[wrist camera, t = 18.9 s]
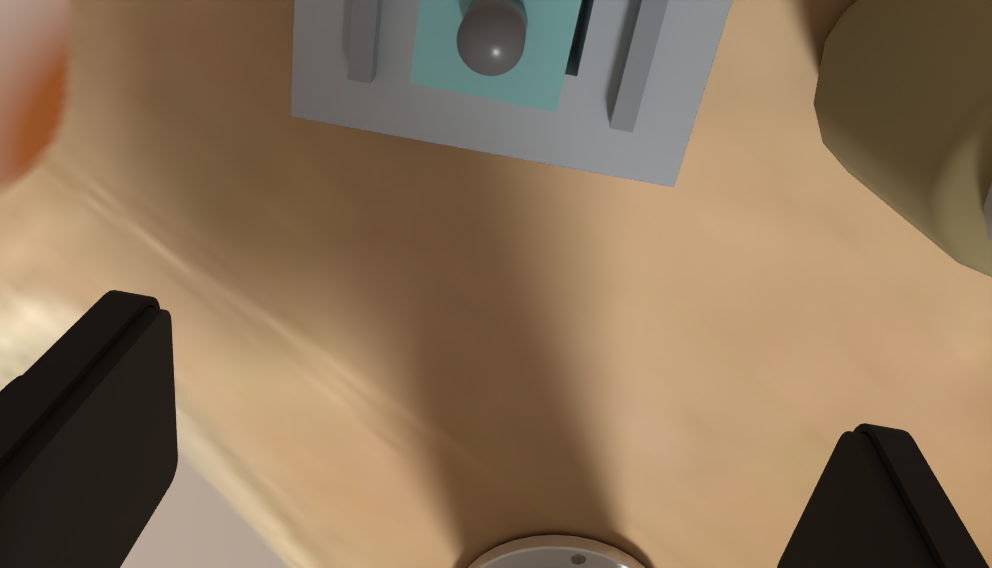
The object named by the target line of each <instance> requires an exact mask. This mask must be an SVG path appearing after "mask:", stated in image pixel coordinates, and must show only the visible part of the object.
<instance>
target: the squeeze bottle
mask: <svg viewBox="0 0 992 568" xmlns="http://www.w3.org/2000/svg"><path fill="white" fill-rule="evenodd" d="M814 107H815V111H816V115H817V119H818V124H819V128H820V132H821V137H822V141H823V143H824V144H825V146H826V147H827V148H828V149H829V150H830V152H831V153H832V154H833V155H834V156H835V157H836V159H837V160H838V161H839V162H840V163H841V164H842V166H843V167H844V168H845V169H846V170H847V171H848V172H849V173H850V174H851V175H852V176H853V177H855V178H856V179H857V180H858V181H860V182H861V183H862V184H863V185H864V186H866V187H867V188H868V189H869V190H870V191H872V192H873V193H874V194H875V195H877V196H878V197H879V198H880V199H881V200H883V201H884V202H885V203H886V204H887V205H889V206H890V207H891V208H892V209H893V210H895V211H896V212H897V213H898V214H900V215H901V216H902V217H903V218H904V219H906V220H907V221H908V222H909V223H910V224H912V225H913V226H914V227H915V228H916V229H918V230H919V231H920V232H921V233H923V234H924V235H925V236H926V237H927V238H929V239H930V240H931V241H932V242H933V243H935V244H936V245H937V246H938V247H939V248H941V249H942V250H943V251H944V252H946V253H947V254H948V255H949V256H950V257H952V258H953V259H954V260H955V261H956V262H958V263H960V264H962V265H964V266H967V267H969V268H971V269H974V270H976V271H978V272H981V273H983V274H986V275H988V276H990V277H992V0H857V1H856V2H854V3H853V4H852V5H851V6H850V7H848V8H847V9H846V10H845V11H844V12H843V13H842V15H841V16H840V18H839V19H838V21H837V23H836V24H835V26H834V27H833V29H832V31H831V32H830V34H829V35H828V37H827V39H826V40H825V45H824V50H823V55H822V60H821V65H820V70H819V76H818V81H817V87H816V93H815V99H814Z"/></svg>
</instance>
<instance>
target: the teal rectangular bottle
mask: <svg viewBox="0 0 992 568" xmlns="http://www.w3.org/2000/svg"><path fill="white" fill-rule="evenodd" d="M581 1H582V0H420V6H419V14H418V22H417V30H416V38H415V45H414V53H413V61H412V69H411V77H410V83H414V84H418V85H423V86H428V87H433V88H438V89H443V90H448V91H453V92H458V93H463V94H468V95H473V96H478V97H483V98H488V99H493V100H498V101H503V102H508V103H512V104H517V105H522V106H527V107H532V108H537V109H542V110H547V111H552V112H556V110H557V105H558V101H559V97H560V92H561V88H562V84H563V79H564V75H565V71H566V66H567V62H568V58H569V53H570V49H571V45H572V40H573V36H574V32H575V27H576V23H577V19H578V14H579V10H580V6H581Z"/></svg>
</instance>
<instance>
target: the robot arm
mask: <svg viewBox="0 0 992 568" xmlns="http://www.w3.org/2000/svg"><path fill="white" fill-rule="evenodd" d="M177 461H178V450H177V429H176V408H175V386H174V365H173V344H172V322H171V315H170V313H169V312H168V311H167V310H163V309H160V306H159V303H158V301H157V299H156V298H154V297H150V296H145V295H139V294H133V293H128V292H122V291H117V290H111V291H109V292H107V293H106V294H105V295H104V296H103V297H101V298H100V299H99V300H98V301H97V302H96V303H95V304H94V305H93V306H92V307H91V308H90V309H89V310H88V311H87V312H86V313H85V314H84V315H83V316H82V317H81V318H80V319H79V320H78V321H77V322H76V323H75V324H74V325H73V326H72V327H71V328H70V329H69V330H68V331H67V332H66V333H65V334H64V335H63V336H62V337H61V338H60V339H59V340H58V341H57V342H56V343H55V344H54V345H53V346H52V347H51V348H50V349H49V350H48V351H47V352H46V353H44V354H43V355H42V356H41V357H40V358H39V359H38V360H37V361H36V362H35V363H34V364H33V365H32V366H31V367H30V368H29V369H28V370H27V371H26V372H25V373H24V374H23V375H21V376H18V377H17V378H15V379H14V380H13V381H11V382H10V383H9V384H8V385H7V386H6V387H5V388H4V389H2V390H1V391H0V568H120V566H121V565H122V563H123V562H124V560H125V558H126V557H127V555H128V554H129V552H130V550H131V548H132V547H133V545H134V544H135V542H136V541H137V539H138V537H139V535H140V534H141V532H142V531H143V529H144V527H145V526H146V524H147V523H148V521H149V519H150V517H151V516H152V514H153V513H154V511H155V509H156V508H157V506H158V505H159V503H160V501H161V500H162V498H163V496H164V495H165V493H166V491H167V489H168V488H169V487H170V484H171V483H172V481H173V478H174V475H175V472H176V468H177ZM468 568H645V567H644V566H643V565H642V564H640V563H639V562H638V561H637V560H635V559H634V558H633V557H632V556H630V555H628V554H626V553H624V552H622V551H621V550H619V549H617V548H615V547H612V546H610V545H607V544H604V543H601V542H598V541H596V540H591V539H586V538H581V537H577V536H565V535H543V536H532V537H527V538H522V539H517V540H513V541H511V542H508V543H505V544H502V545H500V546H497V547H495V548H493V549H491V550H490V551H488V552H486V553H484V554H483V555H481V556H480V557H479V558H478V559H476V560H475V561H474V562H473V563H472V564H471V565H469V567H468ZM777 568H989V566H988V565H987V563H986V561H985V560H984V558H983V556H982V554H981V553H980V551H979V549H978V548H977V546H976V544H975V543H974V541H973V539H972V538H971V536H970V534H969V532H968V531H967V529H966V527H965V526H964V524H963V522H962V521H961V519H960V517H959V516H958V514H957V512H956V510H955V509H954V507H953V505H952V504H951V502H950V500H949V499H948V497H947V495H946V494H945V492H944V490H943V488H942V487H941V485H940V483H939V482H938V480H937V478H936V477H935V475H934V473H933V472H932V470H931V468H930V466H929V465H928V463H927V461H926V460H925V458H924V456H923V455H922V453H921V451H920V450H919V448H918V446H917V444H916V443H915V441H914V439H913V438H912V436H911V435H910V434H909V433H908V432H906V431H904V430H900V429H894V428H888V427H883V426H877V425H871V424H866V423H865V424H860V425H859V426H858V427H856V428H855V430H854V431H853V432H851V431H847V432H845V433H843V434H842V435H841V437H840V439H839V440H838V442H837V444H836V446H835V449H834V451H833V453H832V455H831V457H830V459H829V461H828V463H827V465H826V467H825V469H824V471H823V473H822V475H821V477H820V479H819V481H818V483H817V485H816V487H815V489H814V491H813V493H812V496H811V498H810V500H809V502H808V504H807V506H806V508H805V510H804V512H803V514H802V516H801V518H800V520H799V522H798V524H797V526H796V528H795V530H794V532H793V534H792V536H791V538H790V540H789V543H788V545H787V547H786V549H785V551H784V553H783V555H782V557H781V559H780V561H779V563H778V566H777Z"/></svg>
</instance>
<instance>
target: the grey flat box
mask: <svg viewBox="0 0 992 568" xmlns="http://www.w3.org/2000/svg"><path fill="white" fill-rule="evenodd" d="M731 2H732V0H582V1H581V6H580V10H579V14H578V19H577V23H576V27H575V32H574V36H573V40H572V45H571V49H570V53H569V58H568V62H567V66H566V71H565V75H564V79H563V84H562V88H561V92H560V97H559V101H558V105H557V110H556V112H552V111H547V110H542V109H537V108H532V107H527V106H522V105H517V104H512V103H508V102H503V101H498V100H493V99H488V98H483V97H478V96H473V95H468V94H463V93H458V92H453V91H448V90H443V89H438V88H433V87H428V86H423V85H418V84H414V83H410V77H411V69H412V61H413V53H414V45H415V38H416V30H417V22H418V14H419V6H420V0H294V22H293V53H292V84H291V115H290V117H295V118H301V119H306V120H311V121H317V122H322V123H328V124H333V125H339V126H344V127H349V128H355V129H360V130H366V131H371V132H376V133H382V134H387V135H393V136H398V137H404V138H409V139H414V140H420V141H425V142H431V143H436V144H441V145H447V146H452V147H458V148H463V149H468V150H474V151H479V152H485V153H490V154H496V155H501V156H506V157H512V158H517V159H523V160H528V161H533V162H539V163H544V164H550V165H555V166H561V167H566V168H571V169H577V170H582V171H588V172H593V173H598V174H604V175H609V176H615V177H620V178H625V179H631V180H636V181H642V182H647V183H653V184H658V185H663V186H669V187H674V186H675V182H676V179H677V176H678V173H679V170H680V166H681V163H682V160H683V157H684V153H685V150H686V147H687V144H688V141H689V137H690V134H691V131H692V128H693V124H694V121H695V118H696V115H697V112H698V108H699V105H700V102H701V99H702V96H703V92H704V89H705V86H706V83H707V79H708V76H709V73H710V70H711V67H712V63H713V60H714V57H715V54H716V51H717V47H718V44H719V41H720V38H721V34H722V31H723V28H724V25H725V22H726V18H727V15H728V12H729V9H730V5H731Z"/></svg>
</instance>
